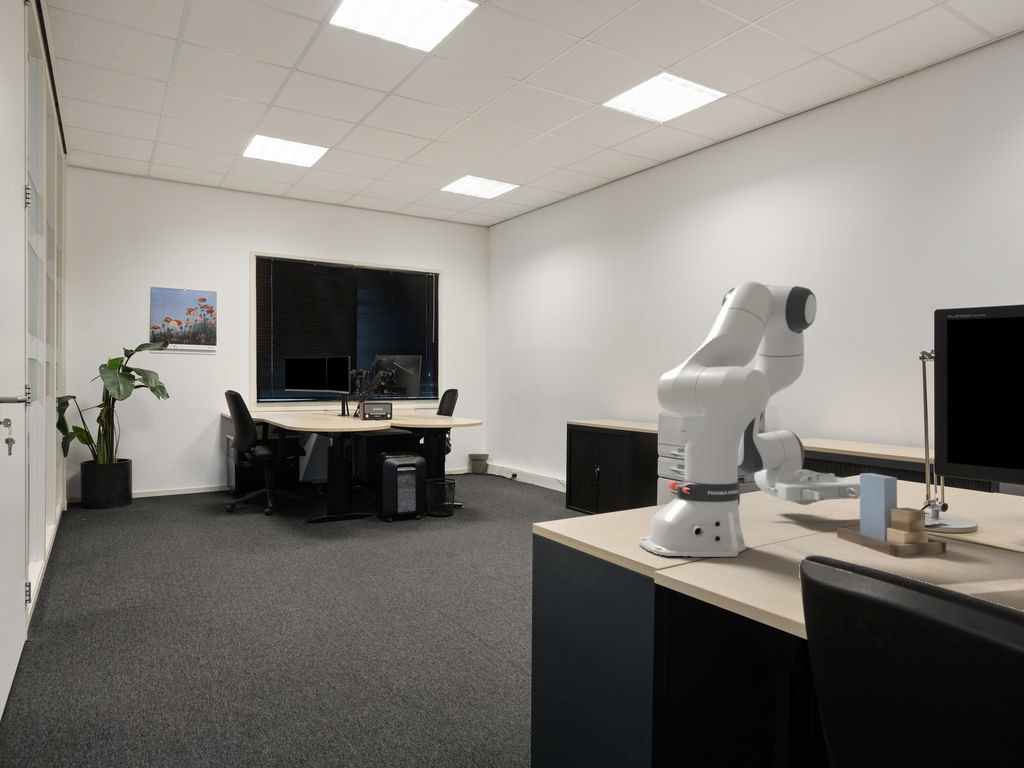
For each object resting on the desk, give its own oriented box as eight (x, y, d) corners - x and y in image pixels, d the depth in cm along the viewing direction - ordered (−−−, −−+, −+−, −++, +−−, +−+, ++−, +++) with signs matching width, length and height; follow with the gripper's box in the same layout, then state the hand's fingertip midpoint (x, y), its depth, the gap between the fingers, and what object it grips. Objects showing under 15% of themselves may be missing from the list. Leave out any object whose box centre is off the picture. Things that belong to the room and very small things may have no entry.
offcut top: (908, 532, 128) (908, 512, 128) (891, 528, 131) (891, 509, 131) (924, 530, 129) (924, 510, 129) (906, 526, 133) (906, 507, 133)
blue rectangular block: (884, 545, 133) (884, 478, 133) (860, 537, 140) (859, 473, 140) (897, 544, 134) (896, 477, 134) (872, 536, 141) (871, 473, 141)
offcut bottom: (904, 553, 127) (904, 533, 127) (887, 547, 132) (887, 528, 132) (928, 551, 128) (928, 531, 128) (910, 546, 133) (910, 526, 133)
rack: (893, 563, 125) (893, 546, 125) (837, 543, 141) (837, 527, 141) (946, 560, 127) (946, 542, 127) (884, 540, 143) (884, 525, 143)
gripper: (764, 475, 160) (799, 483, 147) (836, 472, 164) (876, 481, 151) (764, 500, 160) (799, 511, 147) (836, 497, 164) (877, 507, 151)
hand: (839, 496), depth 149 cm, fingers open, 8 cm apart
